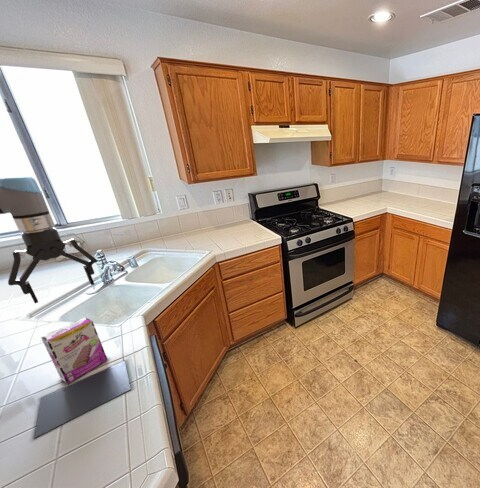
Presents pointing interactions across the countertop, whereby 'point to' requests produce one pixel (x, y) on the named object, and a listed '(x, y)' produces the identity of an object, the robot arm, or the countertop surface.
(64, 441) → the countertop surface
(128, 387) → the slate placemat
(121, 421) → the countertop surface
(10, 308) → the countertop surface
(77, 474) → the countertop surface
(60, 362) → the candy bar box
